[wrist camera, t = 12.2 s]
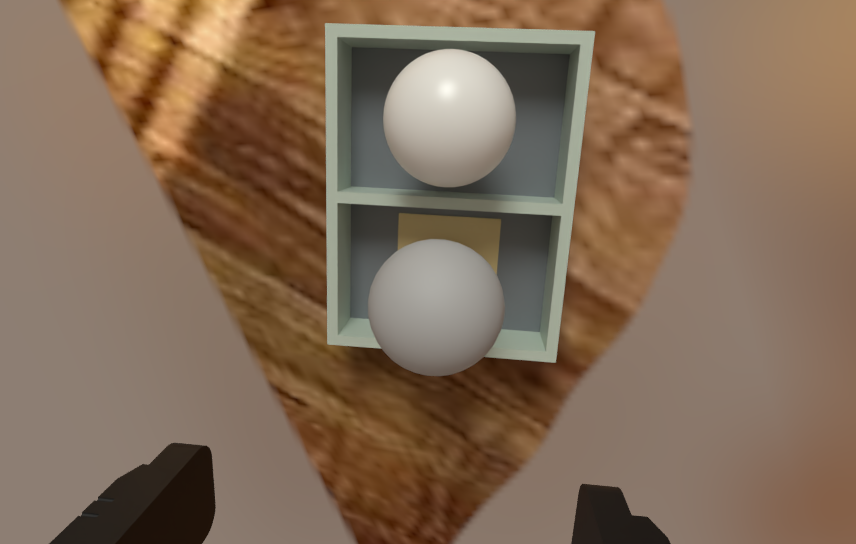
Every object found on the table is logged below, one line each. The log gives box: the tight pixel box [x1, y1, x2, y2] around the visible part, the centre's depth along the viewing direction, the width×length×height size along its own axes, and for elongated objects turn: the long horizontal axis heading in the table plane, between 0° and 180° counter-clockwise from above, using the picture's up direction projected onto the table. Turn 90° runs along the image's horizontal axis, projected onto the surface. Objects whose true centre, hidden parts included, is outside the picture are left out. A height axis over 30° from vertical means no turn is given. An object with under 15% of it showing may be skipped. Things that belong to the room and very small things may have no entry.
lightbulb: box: [368, 239, 505, 376], centre depth 25 cm, size 6×6×11 cm
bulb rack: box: [325, 23, 595, 363], centre depth 26 cm, size 13×17×10 cm
